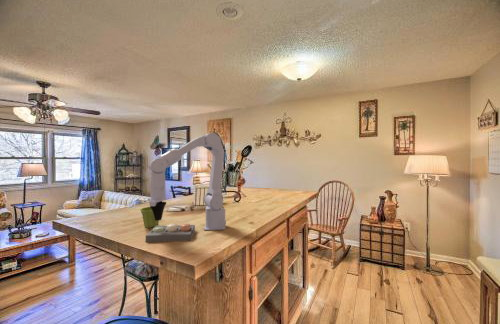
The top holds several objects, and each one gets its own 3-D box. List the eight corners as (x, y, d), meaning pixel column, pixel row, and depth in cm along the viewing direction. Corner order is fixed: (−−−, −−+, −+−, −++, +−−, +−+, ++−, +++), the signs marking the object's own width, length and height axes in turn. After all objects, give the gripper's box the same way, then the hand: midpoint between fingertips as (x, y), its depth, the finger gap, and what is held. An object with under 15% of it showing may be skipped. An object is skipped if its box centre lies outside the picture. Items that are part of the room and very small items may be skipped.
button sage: (164, 233, 96) (164, 226, 96) (161, 236, 92) (161, 229, 92) (155, 233, 96) (155, 226, 96) (151, 237, 92) (151, 229, 92)
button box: (194, 230, 101) (194, 224, 101) (190, 240, 89) (189, 233, 89) (155, 232, 100) (155, 225, 100) (145, 242, 88) (145, 234, 88)
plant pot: (154, 230, 103) (153, 211, 103) (135, 228, 105) (135, 210, 105) (165, 224, 112) (165, 206, 112) (148, 223, 114) (148, 206, 114)
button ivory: (177, 230, 97) (177, 223, 97) (175, 233, 93) (175, 226, 93) (168, 231, 97) (168, 224, 96) (165, 234, 93) (165, 226, 92)
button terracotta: (191, 230, 97) (190, 223, 97) (189, 233, 93) (189, 226, 93) (181, 230, 97) (181, 223, 97) (179, 233, 93) (179, 226, 93)
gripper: (154, 185, 101) (154, 215, 101) (141, 190, 86) (141, 225, 87) (170, 185, 101) (170, 215, 102) (160, 189, 87) (160, 224, 87)
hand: (158, 220), depth 94 cm, fingers closed
